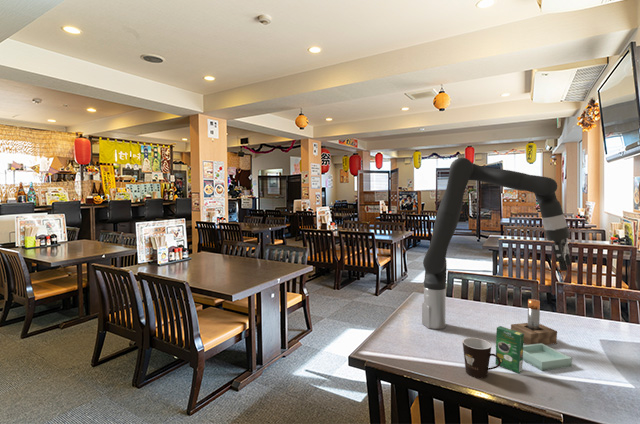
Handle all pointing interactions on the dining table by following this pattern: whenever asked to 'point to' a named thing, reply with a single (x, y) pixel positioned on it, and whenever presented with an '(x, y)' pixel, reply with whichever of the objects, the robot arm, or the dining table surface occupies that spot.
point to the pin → (533, 314)
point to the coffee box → (509, 349)
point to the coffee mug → (477, 357)
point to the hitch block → (536, 334)
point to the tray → (545, 357)
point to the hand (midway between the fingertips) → (566, 267)
